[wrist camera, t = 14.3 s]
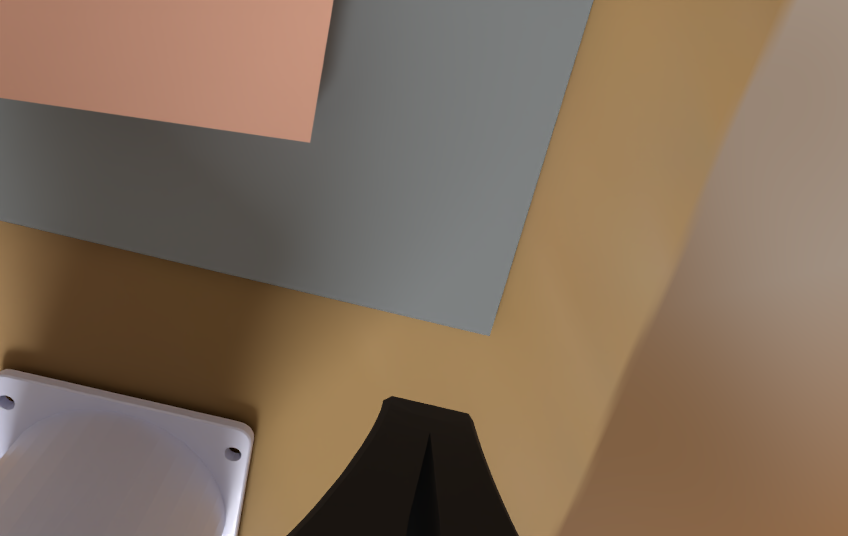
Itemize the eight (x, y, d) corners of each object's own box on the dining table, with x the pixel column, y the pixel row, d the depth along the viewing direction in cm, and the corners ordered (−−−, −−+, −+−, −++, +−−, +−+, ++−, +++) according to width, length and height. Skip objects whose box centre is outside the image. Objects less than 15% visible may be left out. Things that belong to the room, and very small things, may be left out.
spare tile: (309, 142, 19) (-98, 83, 17) (305, 120, 20) (-71, 63, 18) (342, -55, 17) (-114, -152, 15) (335, -65, 18) (-83, -155, 16)
